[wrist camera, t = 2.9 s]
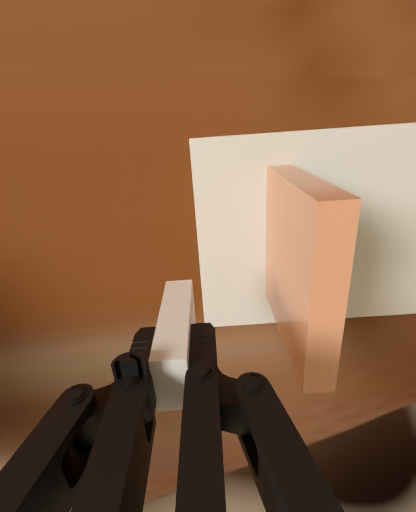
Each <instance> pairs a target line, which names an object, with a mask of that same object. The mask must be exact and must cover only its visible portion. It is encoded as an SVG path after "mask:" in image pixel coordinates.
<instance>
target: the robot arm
mask: <svg viewBox="0 0 416 512" xmlns="http://www.w3.org/2000/svg"><path fill="white" fill-rule="evenodd" d="M195 321H196V318H195V307H194V297H193V287H192V280H179V281H166V285H165V289H164V294H163V298H162V303H161V307H160V312H159V316H158V321H157V325H156V327H145V328H140V329H139V330H138V332H137V333H136V334H135V336H134V339H133V343H132V345H131V349H130V351H129V352H127V353H124V354H121V355H119V356H118V357H116V358H115V359H114V360H113V362H112V363H111V367H112V371H113V375H114V380H115V381H114V382H113V383H112V384H110V385H107V386H105V387H102V388H99V389H95V390H94V389H93V388H92V386H91V385H88V384H77V385H74V386H72V387H70V388H68V389H67V390H65V391H64V392H63V393H62V394H61V395H60V397H59V398H58V399H57V400H56V402H55V403H54V404H53V405H52V407H51V408H50V409H49V411H48V412H47V413H46V414H45V416H44V417H43V418H42V419H41V421H40V422H39V423H38V424H37V426H36V427H35V428H34V429H33V431H32V432H31V433H30V434H29V436H28V437H27V438H26V439H25V441H24V442H23V443H22V444H21V446H20V447H19V448H18V449H17V451H16V452H15V453H14V455H13V456H12V457H11V458H10V460H9V461H8V462H7V463H6V465H5V466H4V467H3V468H2V470H1V471H0V512H69V511H70V510H71V512H143V505H144V498H145V492H146V485H147V479H148V472H149V465H150V459H151V452H152V445H153V439H154V432H155V425H156V419H155V407H156V406H157V411H173V410H182V424H181V438H180V452H179V466H178V480H177V493H176V508H175V512H226V502H225V484H224V467H223V450H222V433H221V432H222V431H226V432H230V433H234V434H237V435H238V438H239V441H240V443H241V446H242V449H243V451H244V454H245V457H246V459H247V462H248V465H249V467H250V470H251V472H252V475H253V478H254V481H255V483H256V486H257V488H258V491H259V494H260V496H261V499H262V501H263V505H264V507H265V510H266V512H344V510H343V509H342V507H341V505H340V503H339V502H338V500H337V498H336V496H335V495H334V493H333V491H332V489H331V488H330V486H329V484H328V483H327V481H326V479H325V477H324V476H323V474H322V472H321V470H320V469H319V467H318V465H317V464H316V462H315V460H314V458H313V457H312V455H311V453H310V452H309V450H308V448H307V446H306V445H305V443H304V441H303V439H302V438H301V436H300V434H299V432H298V431H297V429H296V427H295V426H294V424H293V422H292V420H291V419H290V417H289V415H288V413H287V412H286V410H285V408H284V407H283V405H282V403H281V401H280V400H279V398H278V396H277V394H276V393H275V391H274V389H273V388H272V386H271V384H270V382H269V381H268V380H267V379H266V377H265V376H263V375H261V374H259V373H254V372H249V373H245V374H242V375H241V376H240V377H239V378H238V379H235V378H231V377H228V376H226V375H224V374H222V373H221V372H220V370H219V369H218V366H217V352H216V337H215V328H214V327H213V325H212V324H211V323H196V324H195ZM221 430H222V431H221ZM71 508H72V509H71Z"/></svg>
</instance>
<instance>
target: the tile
mask: <svg viewBox="0 0 416 512" xmlns="http://www.w3.org/2000/svg"><path fill="white" fill-rule="evenodd" d="M361 201H362V198H360V197H357V196H355V195H353V194H351V193H349V192H347V191H345V190H343V189H341V188H339V187H337V186H335V185H333V184H331V183H329V182H327V181H324V180H322V179H320V178H318V177H316V176H314V175H312V174H310V173H308V172H306V171H304V170H302V169H300V168H298V167H296V166H294V165H291V164H290V165H276V166H267V185H266V271H265V294H266V297H267V300H268V302H269V305H270V308H271V310H272V313H273V316H274V319H275V321H276V324H277V327H278V329H279V332H280V335H281V337H282V340H283V343H284V345H285V348H286V351H287V353H288V356H289V359H290V362H291V364H292V367H293V370H294V372H295V375H296V378H297V380H298V383H299V386H300V388H301V391H302V394H310V393H325V392H335V389H336V382H337V375H338V368H339V360H340V353H341V346H342V339H343V331H344V324H345V317H346V310H347V302H348V295H349V288H350V281H351V273H352V266H353V259H354V251H355V244H356V237H357V230H358V222H359V215H360V208H361Z"/></svg>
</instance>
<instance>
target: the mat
mask: <svg viewBox="0 0 416 512" xmlns="http://www.w3.org/2000/svg"><path fill="white" fill-rule="evenodd" d="M189 143H190V154H191V166H192V178H193V190H194V202H195V214H196V226H197V238H198V250H199V262H200V274H201V286H202V298H203V310H204V322H205V323H211V324H212V325H213V327H219V326H234V325H249V324H264V323H276V321H275V319H274V316H273V313H272V310H271V308H270V305H269V302H268V300H267V297H266V294H265V271H266V185H267V166H276V165H290V164H291V165H294V166H296V167H298V168H300V169H302V170H304V171H306V172H308V173H310V174H312V175H314V176H316V177H318V178H320V179H322V180H324V181H327V182H329V183H331V184H333V185H335V186H337V187H339V188H341V189H343V190H345V191H347V192H349V193H351V194H353V195H355V196H357V197H360V198H362V201H361V208H360V215H359V222H358V230H357V237H356V244H355V251H354V259H353V266H352V273H351V281H350V288H349V295H348V302H347V310H346V317H345V318H354V317H370V316H385V315H400V314H415V313H416V122H415V123H401V124H386V125H372V126H358V127H344V128H330V129H315V130H301V131H287V132H273V133H259V134H244V135H230V136H216V137H202V138H189Z"/></svg>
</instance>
